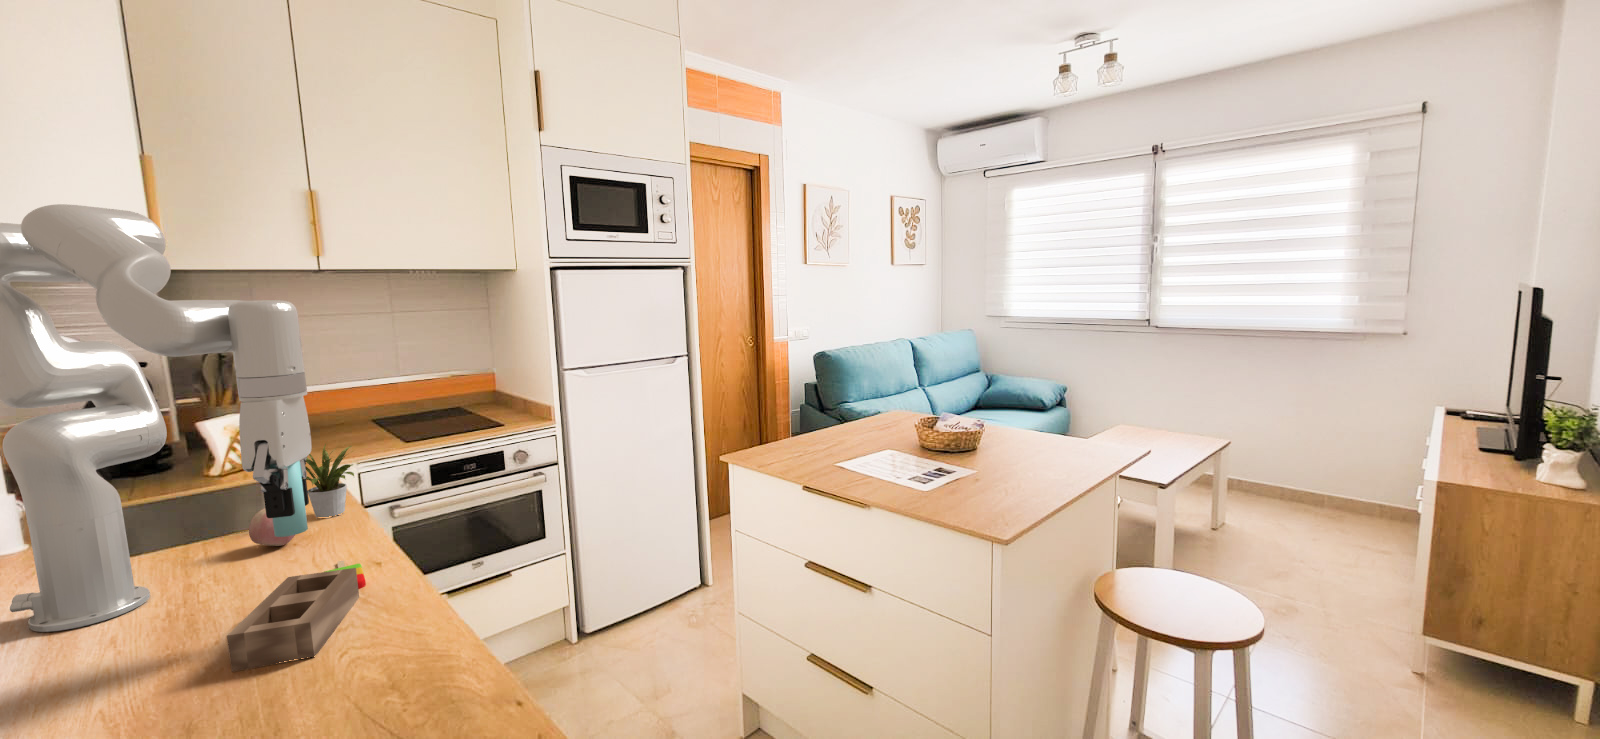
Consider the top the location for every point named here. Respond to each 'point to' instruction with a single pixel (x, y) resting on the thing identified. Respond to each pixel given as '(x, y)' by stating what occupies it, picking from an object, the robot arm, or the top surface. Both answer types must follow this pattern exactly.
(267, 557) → the top surface
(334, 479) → the house plant
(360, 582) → the popsicle
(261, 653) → the socket block
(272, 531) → the apple
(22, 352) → the robot arm
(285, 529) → the dowel
